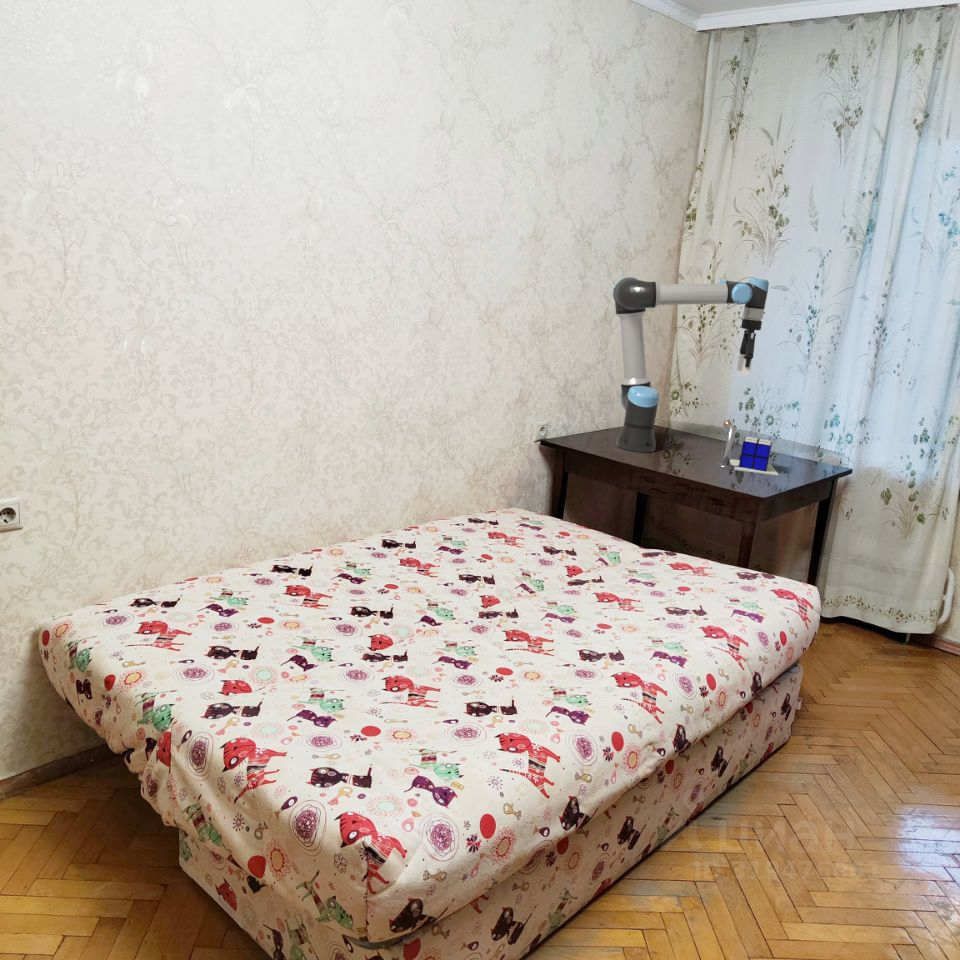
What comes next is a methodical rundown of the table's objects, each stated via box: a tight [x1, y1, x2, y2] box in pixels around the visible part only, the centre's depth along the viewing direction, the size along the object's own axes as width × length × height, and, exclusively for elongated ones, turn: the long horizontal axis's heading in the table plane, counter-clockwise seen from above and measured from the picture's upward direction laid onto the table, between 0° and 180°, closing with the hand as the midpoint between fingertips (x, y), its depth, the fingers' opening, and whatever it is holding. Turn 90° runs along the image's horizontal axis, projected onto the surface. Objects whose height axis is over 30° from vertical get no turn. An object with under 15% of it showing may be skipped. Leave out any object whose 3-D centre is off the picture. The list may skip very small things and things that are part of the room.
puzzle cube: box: [739, 436, 773, 471], centre depth 335 cm, size 10×10×10 cm
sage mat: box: [729, 458, 779, 477], centre depth 336 cm, size 16×16×1 cm
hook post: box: [716, 419, 737, 471], centre depth 335 cm, size 6×17×16 cm, turn 172°
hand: (742, 373), depth 353 cm, fingers open, 13 cm apart
